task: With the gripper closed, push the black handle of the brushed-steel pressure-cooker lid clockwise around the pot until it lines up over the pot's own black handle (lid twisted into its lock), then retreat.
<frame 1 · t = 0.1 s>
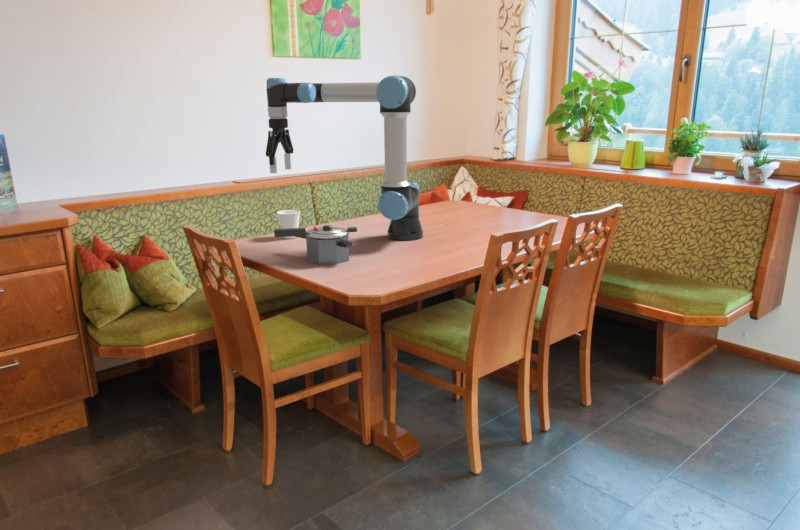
hand: (281, 171, 249), 28 cm above the table, fingers open, 13 cm apart
cup: (290, 237, 256), on the table
cooker pot: (328, 258, 222), on the table
lid: (315, 230, 218), point 11 cm above the table, hinge at 50.0°
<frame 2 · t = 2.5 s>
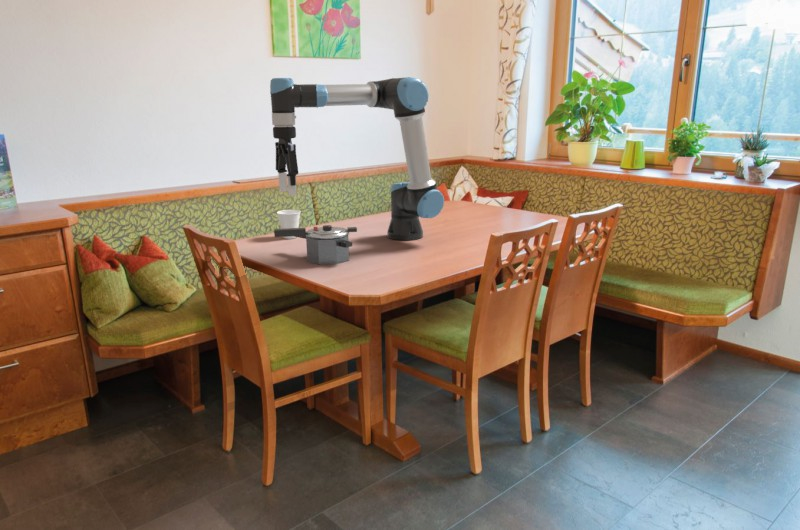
hand: (288, 193, 209), 25 cm above the table, fingers open, 9 cm apart
nothing on the table moved.
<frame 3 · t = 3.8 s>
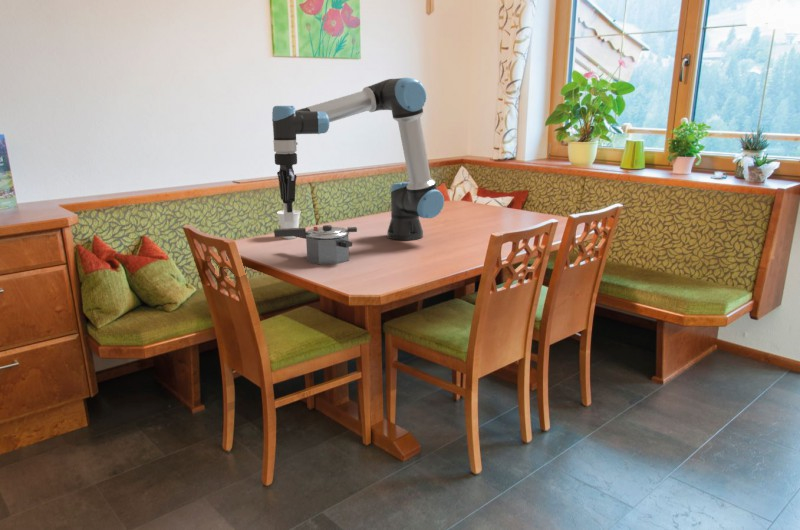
hand: (288, 221, 211), 16 cm above the table, fingers closed
nothing on the table moved.
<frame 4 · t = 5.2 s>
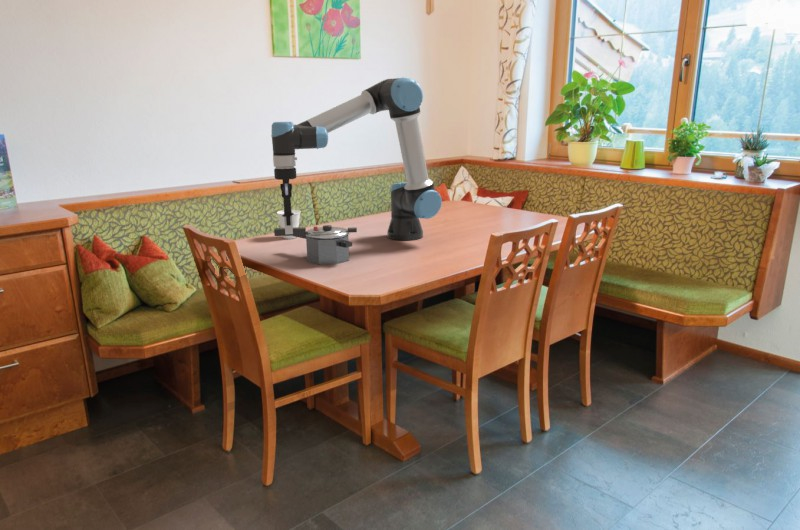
hand: (289, 233, 216), 10 cm above the table, fingers closed
lid: (315, 230, 219), point 11 cm above the table, hinge at 45.3°, touching gripper
everything else where it was.
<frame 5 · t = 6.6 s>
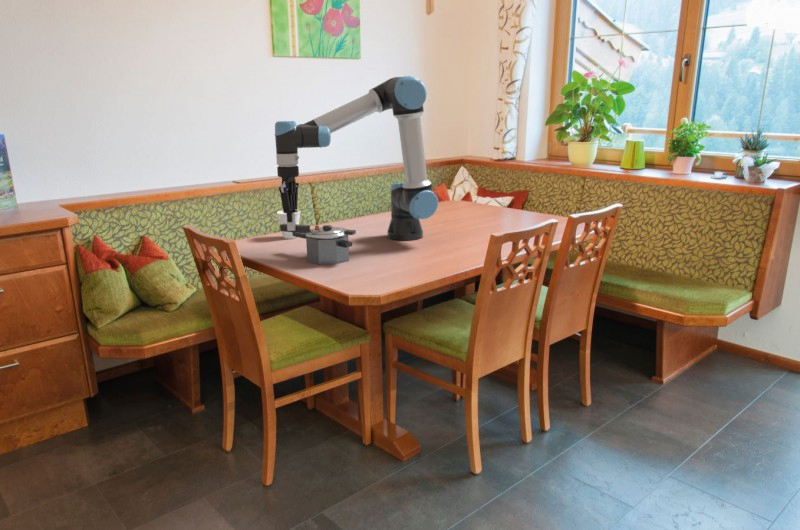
hand: (291, 230, 222), 10 cm above the table, fingers closed
lid: (317, 229, 220), point 11 cm above the table, hinge at 20.2°, touching gripper
everything else where it was.
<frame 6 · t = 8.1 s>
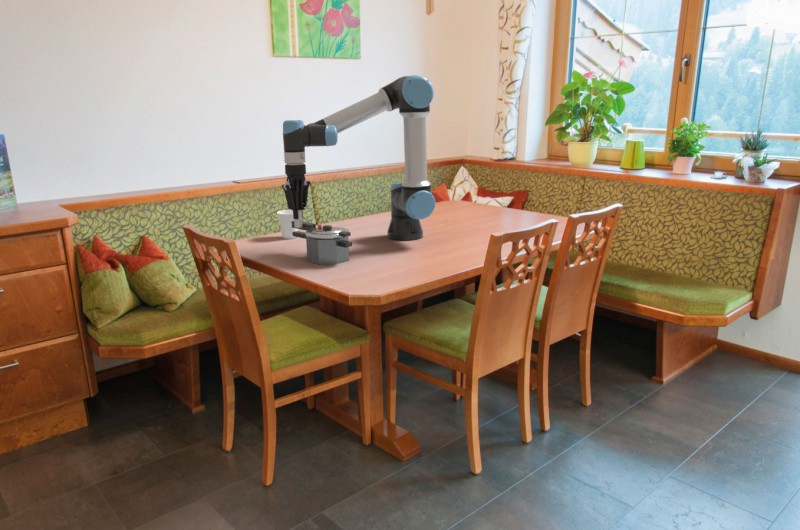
hand: (298, 227, 226), 10 cm above the table, fingers closed
lid: (319, 228, 222), point 11 cm above the table, hinge at -1.2°, touching gripper
everything else where it was.
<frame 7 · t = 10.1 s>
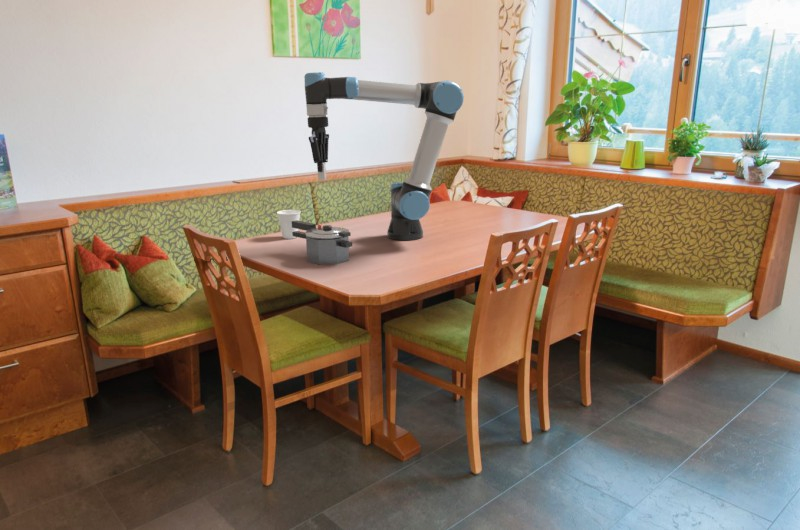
hand: (322, 180, 230), 27 cm above the table, fingers closed
lid: (319, 228, 222), point 11 cm above the table, hinge at -1.2°
everything else where it was.
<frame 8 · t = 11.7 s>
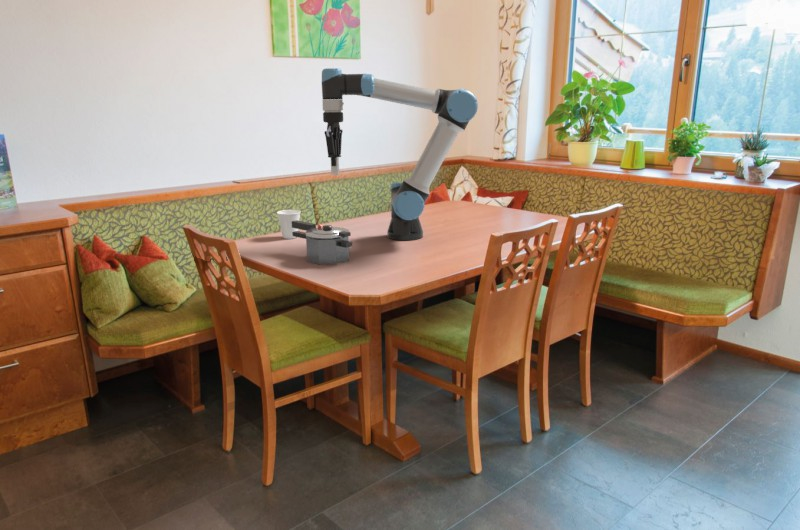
hand: (335, 174, 234), 28 cm above the table, fingers closed
nothing on the table moved.
at the end: lid at -1° (first picture: +50°) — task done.
